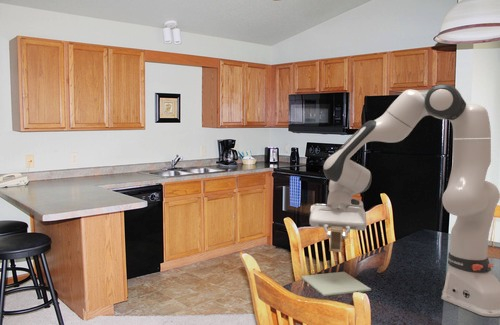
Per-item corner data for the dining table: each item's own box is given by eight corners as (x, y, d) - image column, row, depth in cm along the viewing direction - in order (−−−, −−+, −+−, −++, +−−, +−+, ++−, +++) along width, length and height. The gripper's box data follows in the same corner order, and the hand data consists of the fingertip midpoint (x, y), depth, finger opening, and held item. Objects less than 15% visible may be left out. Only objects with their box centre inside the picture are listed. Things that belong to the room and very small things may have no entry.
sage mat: (370, 290, 150) (370, 288, 150) (323, 296, 144) (323, 294, 144) (343, 273, 167) (344, 271, 167) (300, 277, 161) (300, 276, 161)
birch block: (330, 248, 157) (331, 226, 156) (341, 249, 156) (342, 227, 155) (329, 251, 153) (330, 228, 152) (341, 252, 152) (342, 229, 151)
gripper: (310, 198, 163) (306, 230, 154) (367, 202, 158) (366, 235, 149) (311, 208, 167) (307, 239, 159) (366, 211, 162) (365, 244, 154)
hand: (336, 237), depth 154 cm, fingers closed on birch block, 4 cm apart
